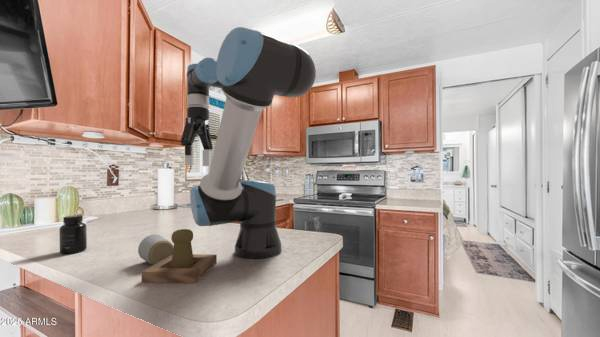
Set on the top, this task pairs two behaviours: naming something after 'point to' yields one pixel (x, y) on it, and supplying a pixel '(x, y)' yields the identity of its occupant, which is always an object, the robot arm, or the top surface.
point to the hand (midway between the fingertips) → (198, 165)
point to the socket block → (179, 270)
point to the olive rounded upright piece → (182, 249)
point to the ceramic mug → (155, 248)
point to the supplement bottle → (73, 235)
